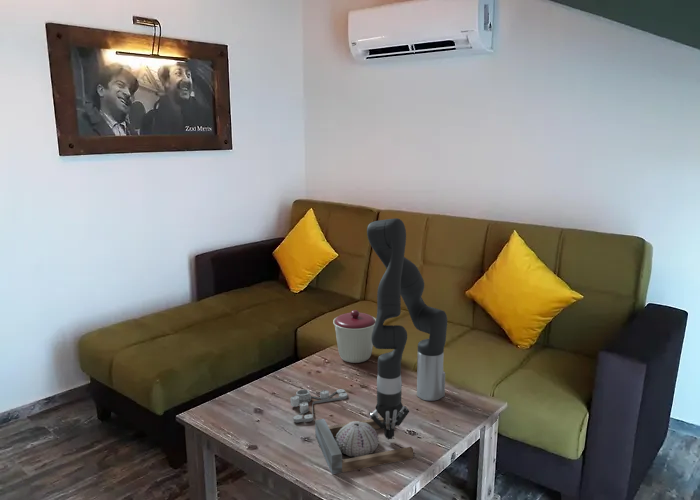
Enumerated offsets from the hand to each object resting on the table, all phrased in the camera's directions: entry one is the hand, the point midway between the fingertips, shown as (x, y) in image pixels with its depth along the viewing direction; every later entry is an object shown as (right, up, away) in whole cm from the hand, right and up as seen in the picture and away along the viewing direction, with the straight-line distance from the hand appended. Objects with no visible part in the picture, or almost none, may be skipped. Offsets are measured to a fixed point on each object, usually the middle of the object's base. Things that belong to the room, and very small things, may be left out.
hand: (389, 437), depth 178 cm
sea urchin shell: (-10, -2, -3) cm, 11 cm away
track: (-8, -2, -3) cm, 9 cm away
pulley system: (-25, +4, +24) cm, 35 cm away
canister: (-10, +13, +61) cm, 63 cm away
